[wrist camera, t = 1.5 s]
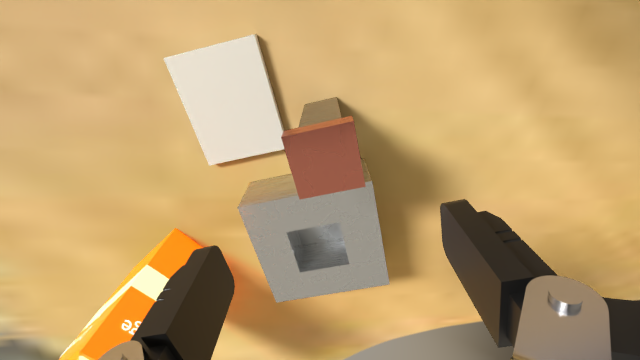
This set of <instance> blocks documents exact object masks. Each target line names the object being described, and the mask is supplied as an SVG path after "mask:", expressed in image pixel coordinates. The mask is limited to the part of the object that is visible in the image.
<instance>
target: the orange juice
mask: <svg viewBox="0 0 640 360" xmlns="http://www.w3.org/2000/svg"><path fill="white" fill-rule="evenodd" d="M199 248H202V247H201V246H200V245H198V244H197V243H195V242H194V241H193V240H191V239H190V238H189V237H187V236H186V235H184V234H183V233H182V232H180V231H179V230H178V229H176V228H175V229H174V230H173V231H172V232H171V233H170V234H169V235H168V236H167V237H166V238H165V239H164V240H163V241H162V242H160V243H159V244H158V245H157V246H156V247H155V248H154V249H153V250H152V251H151V252H150V253H149V254H148V255H147V256H146V257H145V258H144V259H143V260H142V261H141V262H140V263H139V264H138V265H137V266H136V267H135V268H134V269H133V270H132V271H131V272H130V273H129V275H128V276H127V277H126V278H125V280H124V281H123V282H122V283H121V285H120V286H119V287H118V288H117V289H116V291H115V292H114V293H113V294H112V296H111V297H110V298H109V299H108V300H107V302H106V303H105V304H104V305H103V307H102V308H100V310H99V311H98V312H97V313H96V314H95V316H94V317H93V318H92V319H91V321H90V322H89V323H88V324H87V325H86V327H85V328H84V329H83V330H82V332H81V333H80V335H79V336H78V337H77V338H76V340H75V341H74V342H73V343H72V344H71V346H70V347H69V348H68V349H66V350H67V351H65V353H64V354H63V356H62V355H61V356H62V357H61V356H60V357H61V358H60V359H59V360H98V359H99V358H100V357H101V356H102V355H103V354H105V353H106V352H107V351H108V350H110V349H111V348H113V347H115V346H116V345H118V344H121V343H123V342H126V341H130V340H131V338H132V336H133V335H134V333H135V332H136V330H137V329H138V327H139V326H140V324H141V322H142V321H143V319H144V318H145V316H146V315H147V313H148V311H149V310H150V308H151V307H152V305H153V304H154V302H156V299H157V297H158V296H159V294H160V293H161V292H162V291H163V288H164V286H165V285H166V283H167V282H168V280H169V279H170V277H171V276H172V275H173V274H174V273H175V272H176V271H177V270H178V269H179V268H180V267H181V266H183V265H185V263H186V262H187V260H188V258H189V257H190V255H191V254H192V252H193V251H194V250H195V249H199Z"/></svg>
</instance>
